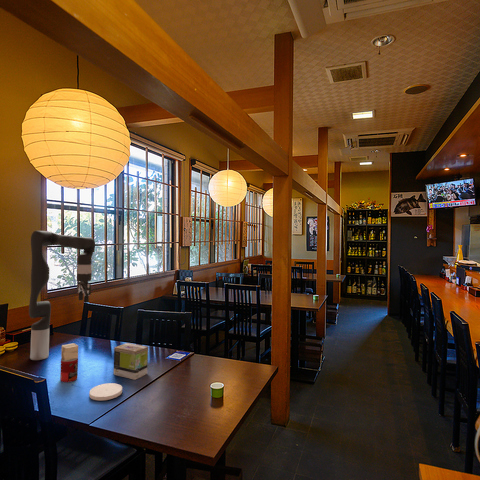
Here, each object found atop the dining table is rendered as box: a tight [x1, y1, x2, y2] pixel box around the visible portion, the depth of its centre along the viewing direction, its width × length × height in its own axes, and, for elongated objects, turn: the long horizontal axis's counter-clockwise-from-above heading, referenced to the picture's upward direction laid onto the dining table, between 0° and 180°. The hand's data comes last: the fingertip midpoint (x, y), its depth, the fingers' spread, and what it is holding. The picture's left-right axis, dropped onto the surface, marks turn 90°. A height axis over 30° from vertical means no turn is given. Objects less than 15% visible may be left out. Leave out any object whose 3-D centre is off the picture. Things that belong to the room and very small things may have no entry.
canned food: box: [59, 357, 79, 383], centre depth 164 cm, size 8×8×11 cm
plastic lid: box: [89, 382, 123, 401], centre depth 149 cm, size 14×14×2 cm
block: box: [60, 343, 79, 361], centre depth 164 cm, size 6×6×6 cm
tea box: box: [113, 342, 149, 381], centre depth 173 cm, size 15×10×15 cm, turn 65°
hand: (83, 301), depth 183 cm, fingers open, 8 cm apart
